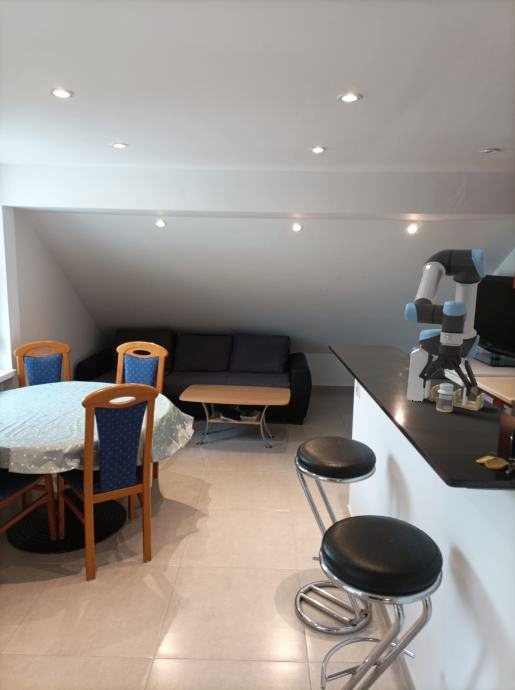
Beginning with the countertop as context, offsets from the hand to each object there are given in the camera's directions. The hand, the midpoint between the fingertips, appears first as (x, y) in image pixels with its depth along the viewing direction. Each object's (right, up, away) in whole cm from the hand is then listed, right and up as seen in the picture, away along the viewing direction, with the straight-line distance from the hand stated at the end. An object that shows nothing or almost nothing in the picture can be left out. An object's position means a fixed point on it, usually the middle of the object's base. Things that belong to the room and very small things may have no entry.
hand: (445, 401), depth 166 cm
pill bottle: (0, -4, +1) cm, 4 cm away
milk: (-6, -1, +15) cm, 16 cm away
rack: (+9, -2, +10) cm, 14 cm away
